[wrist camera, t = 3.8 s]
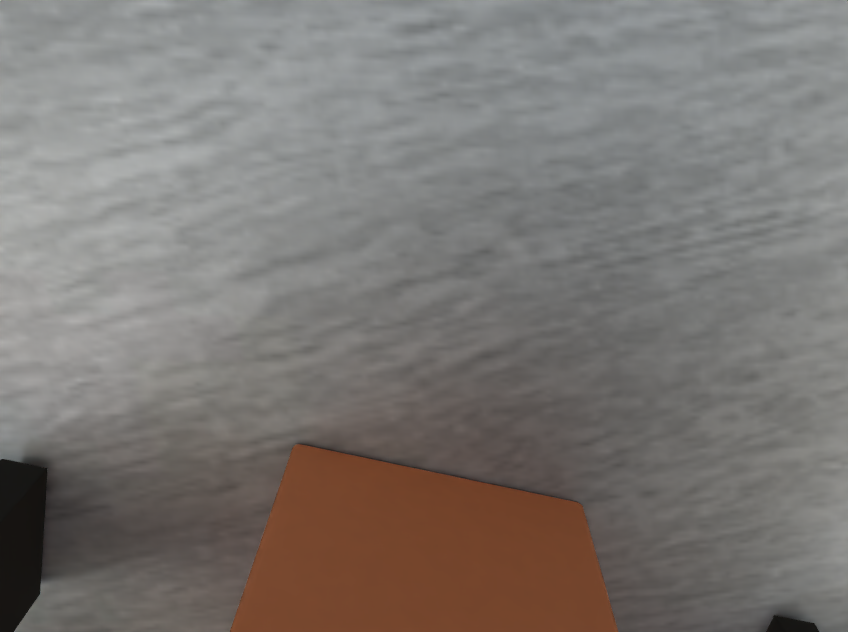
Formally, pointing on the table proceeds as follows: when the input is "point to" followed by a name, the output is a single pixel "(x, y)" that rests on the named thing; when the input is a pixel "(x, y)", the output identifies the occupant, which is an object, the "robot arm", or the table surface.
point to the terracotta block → (418, 555)
